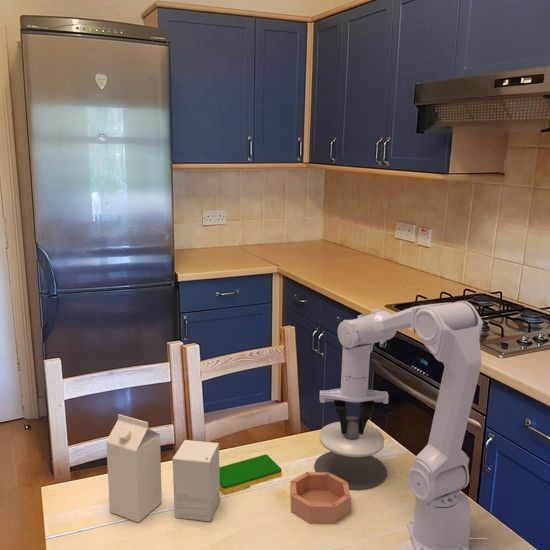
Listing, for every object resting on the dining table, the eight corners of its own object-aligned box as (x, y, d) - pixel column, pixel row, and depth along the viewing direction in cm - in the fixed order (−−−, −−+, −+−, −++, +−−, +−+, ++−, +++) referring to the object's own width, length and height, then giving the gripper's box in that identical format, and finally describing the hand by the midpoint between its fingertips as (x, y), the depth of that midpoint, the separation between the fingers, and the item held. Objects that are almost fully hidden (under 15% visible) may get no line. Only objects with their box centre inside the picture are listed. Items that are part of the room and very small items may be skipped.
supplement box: (220, 499, 112) (220, 442, 109) (210, 523, 104) (209, 462, 102) (185, 495, 113) (184, 438, 110) (172, 518, 106) (171, 458, 103)
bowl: (344, 489, 116) (345, 472, 115) (352, 525, 104) (353, 507, 103) (289, 489, 115) (289, 471, 115) (291, 525, 104) (292, 506, 103)
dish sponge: (282, 479, 120) (282, 469, 119) (223, 497, 113) (223, 486, 112) (266, 463, 126) (266, 453, 125) (209, 479, 119) (209, 469, 118)
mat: (379, 451, 131) (379, 450, 130) (394, 492, 115) (394, 490, 115) (311, 450, 130) (311, 449, 130) (317, 491, 115) (317, 489, 115)
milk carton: (133, 493, 113) (130, 406, 109) (162, 503, 110) (159, 414, 106) (109, 512, 107) (104, 422, 103) (138, 523, 104) (135, 430, 100)
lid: (377, 424, 128) (378, 405, 127) (390, 457, 114) (391, 436, 113) (316, 424, 128) (317, 404, 127) (322, 456, 114) (323, 435, 113)
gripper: (385, 367, 121) (381, 423, 124) (319, 366, 121) (317, 423, 124) (392, 379, 115) (388, 439, 117) (322, 378, 114) (319, 438, 117)
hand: (351, 432), depth 120 cm, fingers closed on lid, 3 cm apart
